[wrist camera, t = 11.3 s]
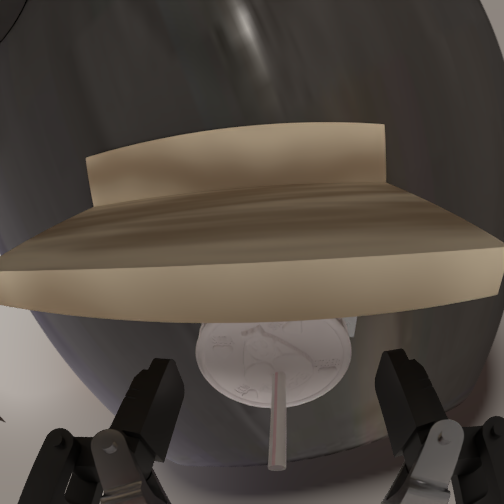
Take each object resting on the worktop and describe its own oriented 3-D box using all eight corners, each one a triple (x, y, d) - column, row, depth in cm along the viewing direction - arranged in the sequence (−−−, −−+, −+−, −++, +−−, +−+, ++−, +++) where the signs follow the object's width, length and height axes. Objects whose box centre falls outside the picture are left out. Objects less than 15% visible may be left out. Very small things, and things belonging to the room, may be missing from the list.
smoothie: (255, 314, 21) (231, 493, 8) (212, 243, 19) (117, 418, 6) (333, 282, 19) (389, 465, 6) (298, 202, 17) (352, 368, 4)
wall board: (93, 156, 17) (-43, 193, 6) (378, 125, 15) (517, 119, 4) (105, 223, 19) (-11, 302, 8) (380, 203, 17) (497, 294, 6)
